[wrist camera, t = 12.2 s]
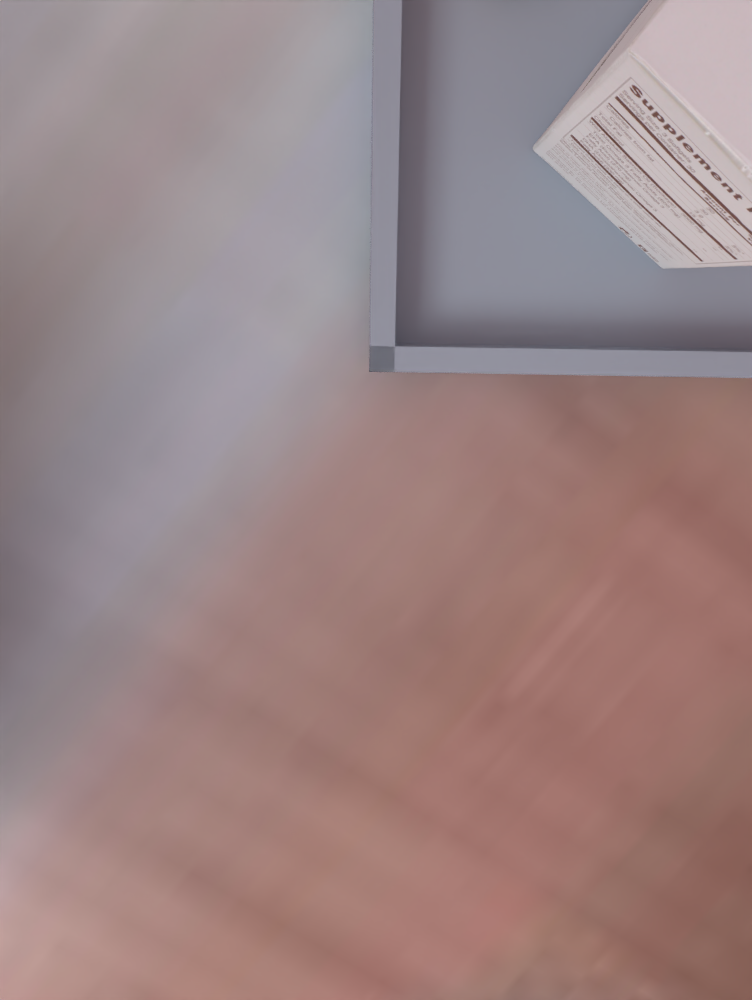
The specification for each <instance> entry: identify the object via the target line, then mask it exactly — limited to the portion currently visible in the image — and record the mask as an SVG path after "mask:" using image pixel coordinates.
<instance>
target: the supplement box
mask: <svg viewBox="0 0 752 1000" xmlns="http://www.w3.org/2000/svg"><path fill="white" fill-rule="evenodd" d="M533 150H534V152H535V153H537V154H538V155H539V156H540V157H541V158H543V159H544V160H545V161H546V162H547V163H548V164H549V165H550V166H551V167H552V168H553V169H555V170H556V171H557V172H558V173H559V174H560V175H561V176H562V177H563V178H564V179H566V180H567V181H568V182H569V183H570V184H571V185H572V186H573V187H574V188H575V189H576V190H578V191H579V192H580V193H581V194H582V195H583V196H584V197H585V198H586V199H587V200H588V201H589V202H590V203H591V204H593V205H594V206H595V207H596V208H597V209H598V210H599V211H600V212H601V213H602V214H603V215H604V216H606V217H607V218H608V219H609V220H610V221H611V222H612V223H613V224H614V225H615V226H616V227H617V228H618V229H619V230H621V231H622V232H623V233H624V234H625V235H626V236H627V237H628V238H629V239H630V240H632V241H633V242H634V243H635V244H636V245H637V246H638V247H639V248H640V249H641V250H643V251H644V252H645V253H646V254H647V255H648V256H649V257H650V258H651V259H652V260H653V261H654V262H655V263H656V264H658V265H659V266H660V267H661V268H663V269H668V268H705V267H729V266H752V0H648V1H647V3H646V4H645V5H644V6H643V7H642V9H641V10H640V11H639V12H638V14H637V15H636V16H635V17H634V19H633V20H632V21H631V22H630V24H629V25H628V26H627V27H626V29H625V30H624V31H623V33H622V34H621V35H620V36H619V38H618V39H617V40H616V41H615V43H614V44H613V45H612V46H611V48H610V49H609V50H608V52H607V53H606V54H605V55H604V57H603V58H602V59H601V60H600V62H599V63H598V64H597V65H596V67H595V68H594V69H593V71H592V72H591V73H590V74H589V76H588V77H587V78H586V80H585V81H584V82H583V83H582V85H581V86H580V87H579V89H578V90H577V91H576V92H575V94H574V95H573V96H572V98H571V99H570V100H569V101H568V103H567V104H566V105H565V107H564V108H563V109H562V110H561V112H560V113H559V114H558V116H557V117H556V118H555V120H554V121H553V122H552V123H551V125H550V126H549V127H548V128H547V130H546V131H545V132H544V133H543V134H542V136H541V137H540V138H539V139H538V141H537V142H536V143H535V144H534V145H533Z"/></svg>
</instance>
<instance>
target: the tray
mask: <svg viewBox="0 0 752 1000" xmlns="http://www.w3.org/2000/svg"><path fill="white" fill-rule="evenodd" d="M647 1H648V0H373V77H372V171H371V265H370V359H369V372H424V373H483V374H543V375H603V376H663V377H723V378H752V266H729V267H705V268H668V269H663V268H661V267H660V266H659V265H658V264H656V263H655V262H654V261H653V260H652V259H651V258H650V257H649V256H648V255H647V254H646V253H645V252H644V251H643V250H641V249H640V248H639V247H638V246H637V245H636V244H635V243H634V242H633V241H632V240H630V239H629V238H628V237H627V236H626V235H625V234H624V233H623V232H622V231H621V230H619V229H618V228H617V227H616V226H615V225H614V224H613V223H612V222H611V221H610V220H609V219H608V218H607V217H606V216H604V215H603V214H602V213H601V212H600V211H599V210H598V209H597V208H596V207H595V206H594V205H593V204H591V203H590V202H589V201H588V200H587V199H586V198H585V197H584V196H583V195H582V194H581V193H580V192H579V191H578V190H576V189H575V188H574V187H573V186H572V185H571V184H570V183H569V182H568V181H567V180H566V179H564V178H563V177H562V176H561V175H560V174H559V173H558V172H557V171H556V170H555V169H553V168H552V167H551V166H550V165H549V164H548V163H547V162H546V161H545V160H544V159H543V158H541V157H540V156H539V155H538V154H537V153H535V152H534V150H533V145H534V144H535V143H536V142H537V141H538V139H539V138H540V137H541V136H542V134H543V133H544V132H545V131H546V130H547V128H548V127H549V126H550V125H551V123H552V122H553V121H554V120H555V118H556V117H557V116H558V114H559V113H560V112H561V110H562V109H563V108H564V107H565V105H566V104H567V103H568V101H569V100H570V99H571V98H572V96H573V95H574V94H575V92H576V91H577V90H578V89H579V87H580V86H581V85H582V83H583V82H584V81H585V80H586V78H587V77H588V76H589V74H590V73H591V72H592V71H593V69H594V68H595V67H596V65H597V64H598V63H599V62H600V60H601V59H602V58H603V57H604V55H605V54H606V53H607V52H608V50H609V49H610V48H611V46H612V45H613V44H614V43H615V41H616V40H617V39H618V38H619V36H620V35H621V34H622V33H623V31H624V30H625V29H626V27H627V26H628V25H629V24H630V22H631V21H632V20H633V19H634V17H635V16H636V15H637V14H638V12H639V11H640V10H641V9H642V7H643V6H644V5H645V4H646V3H647Z"/></svg>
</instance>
